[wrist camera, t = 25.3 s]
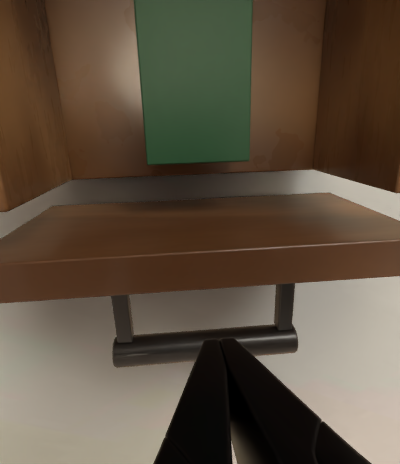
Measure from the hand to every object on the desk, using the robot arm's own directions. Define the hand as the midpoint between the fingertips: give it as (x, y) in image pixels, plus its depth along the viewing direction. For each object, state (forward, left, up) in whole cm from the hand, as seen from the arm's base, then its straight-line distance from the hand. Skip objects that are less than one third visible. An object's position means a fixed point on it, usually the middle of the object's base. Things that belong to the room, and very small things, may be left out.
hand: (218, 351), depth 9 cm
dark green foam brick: (0, +9, -6) cm, 11 cm away
